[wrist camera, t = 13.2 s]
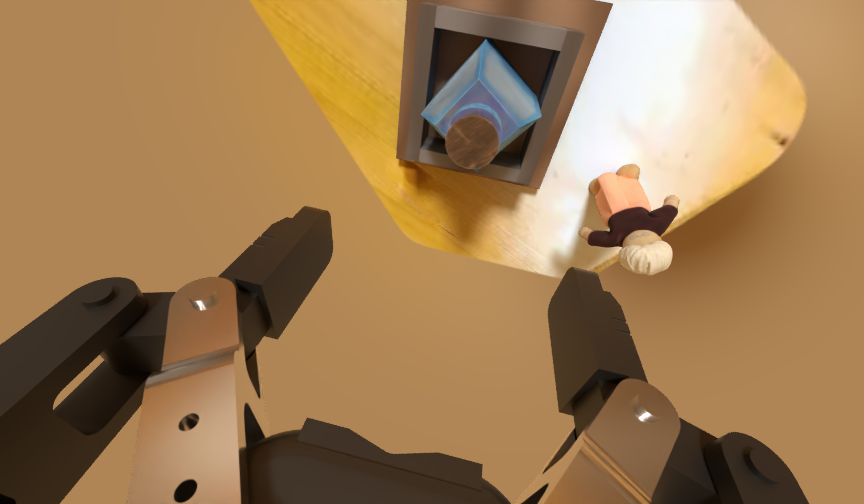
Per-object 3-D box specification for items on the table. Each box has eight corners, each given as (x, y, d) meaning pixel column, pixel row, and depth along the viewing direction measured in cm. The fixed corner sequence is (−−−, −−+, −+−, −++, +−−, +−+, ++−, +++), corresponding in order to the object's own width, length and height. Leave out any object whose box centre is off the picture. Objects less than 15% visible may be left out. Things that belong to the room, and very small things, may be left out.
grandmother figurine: (640, 145, 29) (705, 221, 19) (659, 176, 30) (728, 261, 21) (562, 193, 33) (583, 274, 24) (581, 218, 35) (609, 305, 25)
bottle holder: (398, 154, 34) (386, 172, 31) (412, -32, 24) (396, -37, 21) (538, 184, 33) (541, 206, 30) (609, 3, 24) (626, 4, 20)
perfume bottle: (481, 144, 31) (469, 208, 22) (435, 94, 29) (400, 141, 20) (536, 95, 27) (549, 146, 18) (488, 34, 25) (475, 57, 16)
